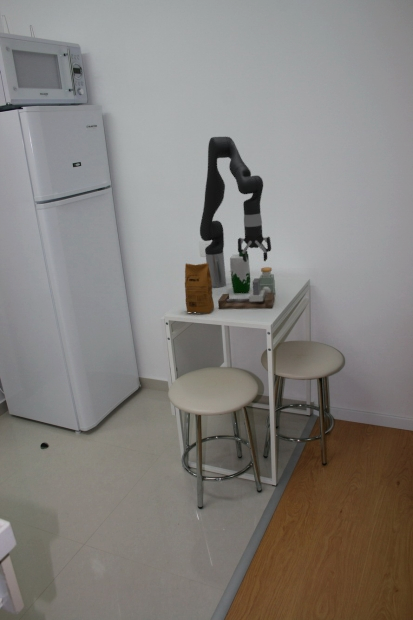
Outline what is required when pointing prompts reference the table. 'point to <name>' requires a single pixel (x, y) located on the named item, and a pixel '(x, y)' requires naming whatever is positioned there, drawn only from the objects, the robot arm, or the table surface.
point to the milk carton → (240, 273)
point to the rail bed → (245, 302)
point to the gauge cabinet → (267, 284)
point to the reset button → (266, 271)
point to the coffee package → (198, 288)
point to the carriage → (256, 291)
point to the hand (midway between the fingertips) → (255, 261)
